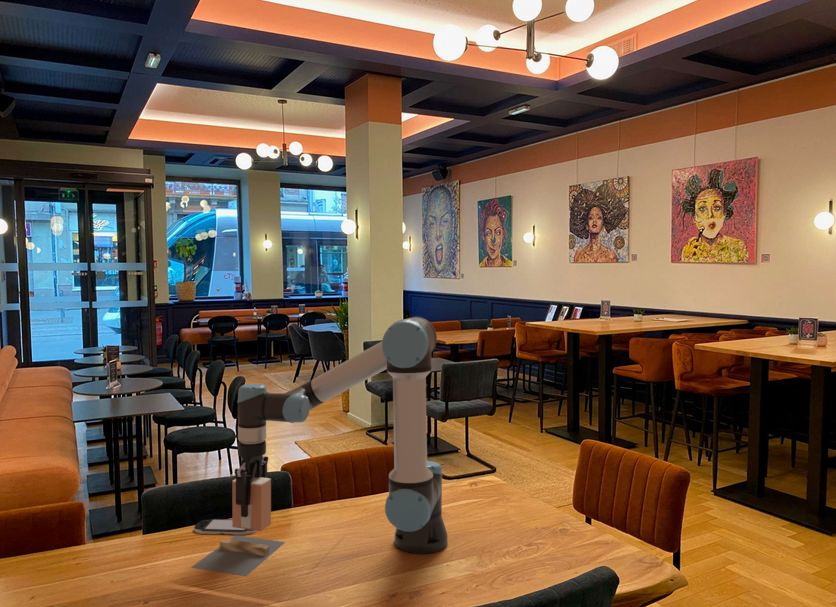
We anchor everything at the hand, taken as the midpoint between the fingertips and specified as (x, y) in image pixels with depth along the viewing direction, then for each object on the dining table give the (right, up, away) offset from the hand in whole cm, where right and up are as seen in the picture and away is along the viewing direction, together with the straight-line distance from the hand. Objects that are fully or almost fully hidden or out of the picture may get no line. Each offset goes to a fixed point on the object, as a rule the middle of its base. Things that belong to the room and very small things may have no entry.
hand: (251, 522), depth 166 cm
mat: (-2, -7, -5) cm, 9 cm away
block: (0, -1, 0) cm, 1 cm away
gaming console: (-10, -7, +11) cm, 17 cm away
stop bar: (-1, -6, -4) cm, 7 cm away
